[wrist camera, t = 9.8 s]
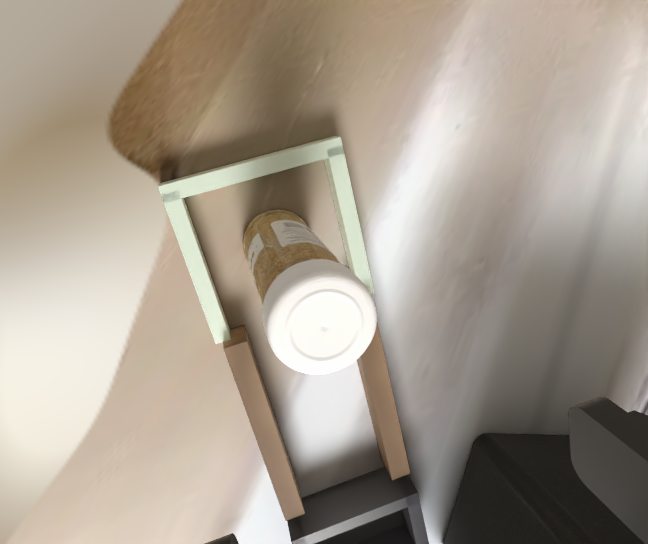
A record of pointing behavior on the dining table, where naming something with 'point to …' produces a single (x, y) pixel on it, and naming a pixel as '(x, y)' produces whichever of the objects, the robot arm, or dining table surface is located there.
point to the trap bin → (362, 513)
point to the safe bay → (251, 169)
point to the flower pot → (529, 497)
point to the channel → (268, 431)
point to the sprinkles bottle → (307, 296)
